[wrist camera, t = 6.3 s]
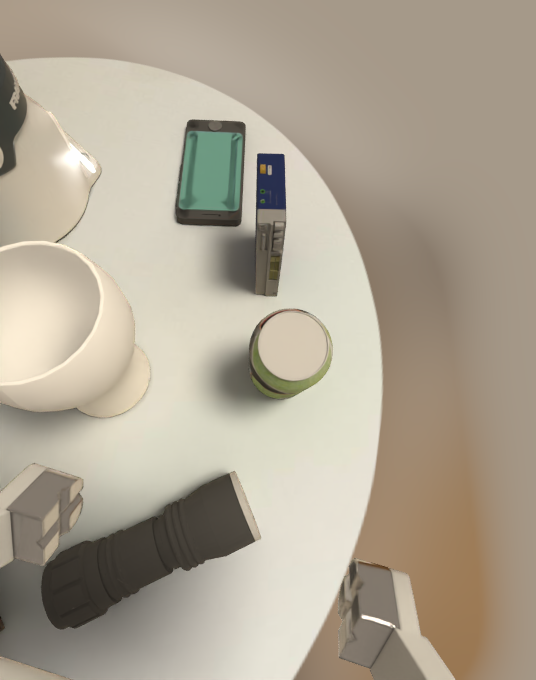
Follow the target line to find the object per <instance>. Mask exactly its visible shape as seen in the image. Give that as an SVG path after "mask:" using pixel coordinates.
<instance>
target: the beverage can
mask: <svg viewBox="0 0 536 680" xmlns="http://www.w3.org/2000/svg"><path fill="white" fill-rule="evenodd" d="M332 355H333V345H332V341H331V337H330V335H329V332H328V330H327V329H326V327H325V326H324V325H323V323H322V322H321V321H320V320H319V319H318V318H316V317H315V316H314V315H312V314H310V313H308V312H306V311H303V310H299V309H282V310H278V311H275V312H273V313H271V314H269V315H267V316H266V317H265V318H264V319H262V320H261V321H260V323H259V324H258V325H257V326H256V328H255V330H254V331H253V334H252V336H251V340H250V345H249V373H250V377H251V380H252V382H253V383H254V385H255V386H256V388H257V389H258V390H259V391H261V392H262V393H263V394H265V395H267V396H269V397H272V398H276V399H285V398H290V397H293V396H295V395H297V394H299V393H300V392H302V391H304V390H306V389H308V388H309V387H311V386H313V385H314V384H316V383H317V382H318V381H320V380H321V379H322V378H323V376H324V375H325V374H326V372H327V370H328V369H329V367H330V364H331V361H332Z"/></svg>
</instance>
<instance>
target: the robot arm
mask: <svg viewBox="0 0 536 680" xmlns="http://www.w3.org/2000/svg"><path fill="white" fill-rule="evenodd" d="M100 173H101V166H100V165H99V163H98V161H97V160H96V159H95V158H94V157H93V156H92V155H91V154H89V153H88V152H87V151H86V150H85V149H84V148H83V147H82V146H80V145H79V144H78V143H77V142H76V141H75V140H74V139H73V138H71V137H70V136H69V135H68V134H67V133H66V132H65V131H63V130H62V128H61V127H60V125H59V123H58V121H57V120H56V118H55V116H54V115H53V114H52V113H51V112H47V111H46V110H45V109H44V108H43V107H42V106H41V105H39V104H38V103H37V102H35V101H34V100H33V99H31V98H30V97H28V96H27V95H26V94H24V93H23V91H22V89H21V88H20V86H19V84H18V82H17V78H16V77H15V75H14V73H13V72H12V70H11V69H10V67H9V66H8V64H7V63H6V62H5V61H4V59H3V58H2V56H1V55H0V247H2V246H6V245H10V244H15V243H19V242H23V241H48V242H53V243H54V242H56V241H58V240H59V239H61V238H62V237H63V236H65V235H66V234H67V233H68V232H69V231H70V230H71V229H72V228H73V227H74V226H75V225H76V224H77V223H78V221H79V220H80V218H81V217H82V215H83V213H84V211H85V209H86V206H87V202H88V197H89V192H90V189H91V186H92V185H93V184H94V183H95V181H96V180H97V178H98V177H99V175H100ZM82 489H83V479H82V478H79V477H76V476H73V475H70V474H67V473H64V472H61V471H58V470H54V469H51V468H48V467H45V466H42V465H38V464H35V463H33V464H31V465H29V466H27V467H26V468H25V469H24V470H23V471H22V472H21V473H20V474H19V475H18V476H17V477H15V478H14V479H13V480H12V481H11V482H10V483H9V484H8V485H7V486H6V487H5V488H4V489H3V490H1V491H0V568H2V567H3V566H5V565H6V564H8V563H10V562H11V561H13V560H14V558H15V559H19V560H23V561H26V562H30V563H34V564H37V565H41V566H44V565H45V563H46V562H47V561H48V560H49V558H50V557H51V556H52V554H53V553H54V552H55V550H56V549H57V548H58V546H59V537H60V536H62V535H64V534H66V533H68V532H70V530H71V529H72V528H73V526H74V525H75V523H76V522H77V519H78V517H79V515H80V513H81V510H82V506H83V498H82V496H81V495H80V493H79V492H80V491H81V490H82ZM338 614H339V616H340V617H341V619H342V621H343V622H342V624H341V626H340V629H339V631H338V634H339V658H341V659H344V660H347V661H349V662H352V663H355V664H358V665H361V666H364V667H367V668H370V669H371V670H370V672H371V674H372V676H373V678H374V680H455V678H454V677H453V675H452V674H451V672H450V671H449V669H448V668H447V666H446V665H445V664H444V662H443V661H442V659H441V658H440V656H439V655H438V653H437V652H436V650H435V649H434V647H433V646H432V644H431V643H430V642H429V640H428V639H427V638H426V637H424V636H421V632H420V627H419V622H418V617H417V612H416V607H415V602H414V597H413V592H412V587H411V582H410V577H409V576H408V574H407V573H404V572H401V571H398V570H394V569H391V568H388V567H385V566H381V565H378V564H374V563H370V562H367V561H363V560H360V559H356V558H354V559H353V560H352V561H351V563H350V565H349V575H347V576H344V579H343V581H342V584H341V588H340V592H339V600H338ZM0 680H72V679H69V678H66V677H63V676H60V675H57V674H54V673H51V672H48V671H45V670H42V669H39V668H35V667H32V666H29V665H26V664H23V663H20V662H17V661H14V660H11V659H8V658H5V657H2V656H0Z"/></svg>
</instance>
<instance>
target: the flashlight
mask: <svg viewBox="0 0 536 680" xmlns="http://www.w3.org/2000/svg"><path fill="white" fill-rule="evenodd" d="M259 539H261V536H260V533H259V530H258V527H257V524H256V522H255V519H254V516H253V514H252V511H251V509H250V506H249V503H248V501H247V498H246V496H245V493H244V491H243V488H242V486H241V484H240V481H239V479H238V477H237V474H236V472H235V471H233V472H231V473H230V474H227V475H225V476H222V477H220V478H218V479H216V480H214V481H211V482H209V483H207V484H205V485H203V486H201V487H200V488H198V489H197V490H196V491H194V492H193V493H192V494H191V495H189V496H188V497H187V498H186V499H180V500H179V501H178V502H177V501H176V502H174V503H173V504H168V505H167V506H166V508H165V510H164V514H163V515H161V516H159V518H157V517H152V518H150V519H148V520H146V521H144V522H142V523H139V524H137V525H135V526H133V527H131V528H129V529H126V530H120V531H118V532H116V534H111V535H109V537H108V538H105V537H104V538H101V539H99V540H96V541H94V542H91V541H84V542H82V543H80V544H78V545H75V546H73V547H71V548H69V549H67V550H65V551H62V552H60V554H59V555H57V557H56V559H55V560H53V561H51V562H49V563H48V564H47V566H46V567H45V569H44V572H43V576H42V585H41V590H42V600H43V605H44V608H45V611H46V614H47V616H48V618H49V620H50V621H51V623H52V624H53V625H54V626H55V627H56V628H58V629H66V628H68V627H72V628H78V627H80V626H82V625H84V624H86V623H88V622H90V621H92V620H94V619H96V618H98V617H100V616H102V615H104V614H105V613H106V611H107V609H108V607H110V606H112V605H114V604H116V603H118V602H120V601H121V599H122V597H125V598H127V597H129V596H130V595H131V594H135V593H137V592H138V591H139V590H140V588H142V587H144V586H146V585H148V584H150V583H152V582H154V581H156V580H158V579H160V578H162V577H164V576H167V575H169V574H171V573H172V572H173V568H174V569H177V568H179V567H181V568H182V569H183V570H186V571H189V570H190V569H191V568H192V567H197V566H198V564H203V563H204V562H205V560H209V559H214V558H219V557H224V556H227V555H229V554H231V553H233V552H235V551H237V550H239V549H241V548H243V547H245V546H247V545H249V544H251V543H253V542H255V541H257V540H259Z"/></svg>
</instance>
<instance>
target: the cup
mask: <svg viewBox="0 0 536 680" xmlns="http://www.w3.org/2000/svg"><path fill="white" fill-rule="evenodd" d="M149 381H150V366H149V362H148V359H147V357H146V355H145V354H144V352H143V351H142V350H141V349H140V348H139V347H138V346H137V345H136V344H135V321H134V317H133V313H132V309H131V306H130V304H129V302H128V301H127V299H126V298H125V296H124V294H123V293H122V291H121V290H120V288H119V286H118V285H117V283H116V282H115V280H114V279H113V278H112V277H111V276H110V275H109V274H108V273H107V272H105V271H104V270H103V269H102V268H101V267H100V266H98V265H97V264H96V263H94V262H93V261H91V260H90V259H89V258H87V257H86V256H84V255H83V254H82V253H80V252H78V251H76V250H74V249H72V248H70V247H68V246H65V245H63V244H58V243H53V242H48V241H23V242H19V243H15V244H10V245H6V246H2V247H0V403H3V404H6V405H9V406H12V407H15V408H19V409H24V410H29V411H33V412H48V411H61V410H66V409H72V408H75V407H76V408H77V409H79V410H80V411H82V412H84V413H85V414H87V415H89V416H94V417H99V418H102V417H113V416H116V415H119V414H122V413H124V412H126V411H127V410H129V409H130V408H132V407H133V406H134V405H135V404H136V403H137V402H138V401H139V400H140V399H141V398H142V396H143V395H144V393H145V391H146V390H147V387H148V384H149Z"/></svg>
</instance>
